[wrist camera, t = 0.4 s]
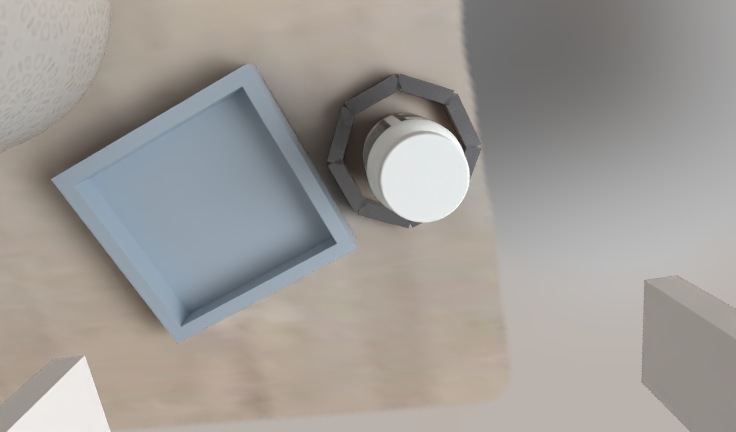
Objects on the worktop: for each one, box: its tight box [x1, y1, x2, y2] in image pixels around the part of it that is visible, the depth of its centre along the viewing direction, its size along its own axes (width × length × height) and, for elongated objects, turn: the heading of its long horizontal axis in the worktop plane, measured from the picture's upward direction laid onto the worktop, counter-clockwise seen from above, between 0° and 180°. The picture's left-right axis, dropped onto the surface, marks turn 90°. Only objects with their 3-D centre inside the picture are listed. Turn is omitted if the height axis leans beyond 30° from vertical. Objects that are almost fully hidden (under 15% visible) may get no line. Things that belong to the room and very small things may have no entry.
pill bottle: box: [363, 113, 470, 222], centre depth 28 cm, size 6×6×10 cm
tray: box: [51, 64, 357, 344], centre depth 32 cm, size 14×15×2 cm
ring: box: [327, 74, 481, 228], centre depth 32 cm, size 10×10×1 cm
